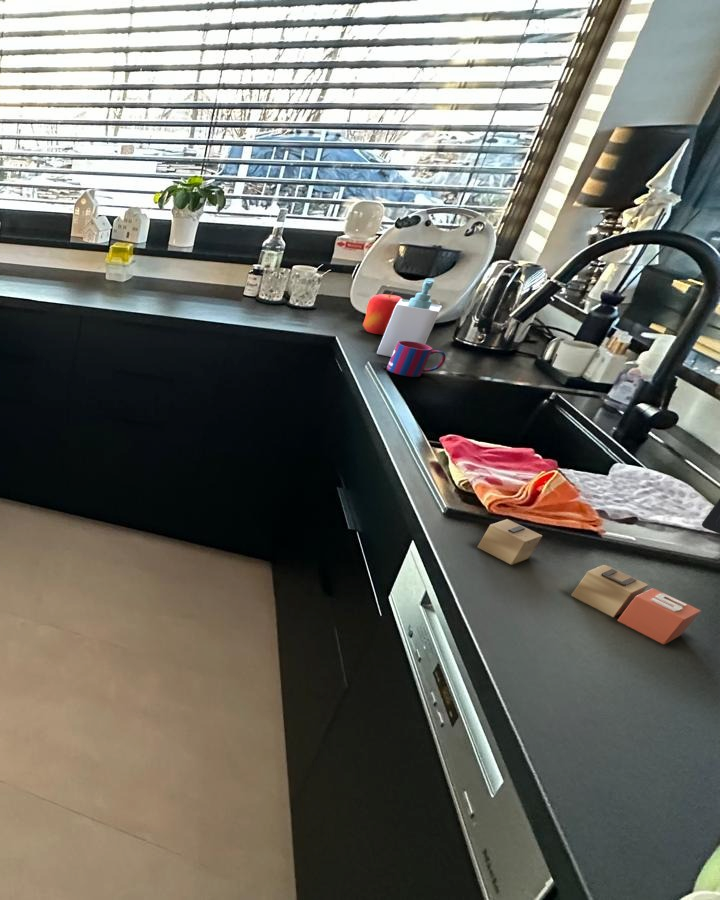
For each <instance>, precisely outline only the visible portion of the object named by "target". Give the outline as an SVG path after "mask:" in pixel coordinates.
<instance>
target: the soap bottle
mask: <svg viewBox="0 0 720 900" xmlns="http://www.w3.org/2000/svg"><path fill="white" fill-rule="evenodd" d="M435 281H436V279H434V278H431V277H427V278H425V279H424V281H423V284H422V286H421V289H422V290H421V292H417V293H416V294H415V295H414V297H411V298H410V299H405V298H403V299H401V300H400V301H399V302H398V303H397V304H396V306H395V309H394V311H393V314H392V316H391V319H390V321H389V324H388V326H387V329H386V331H385V333H384V335H382V338H381V341H380V344H379V346H378V348H377V351H376V354H377V355H380V356H383V357H384V356H385V357H389V358H391V357H392V354H393V352H394V349H395V347H396V345H397V342H398V341H412V342H417V343H422V344H425V345H426V344H427V341H428V339H429V336H430V334H431V332H432V330H433V328H434V325H435V323H436V321H437V318H438V316H439V313H440V312H441V310H442V305H441V304H435V303H433V301H432V300H431V297H432V295H431V294H430V293H428V292H429V291H430V290H431V289H432V287H433V285H434V282H435Z"/></svg>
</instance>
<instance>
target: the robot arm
mask: <svg viewBox="0 0 720 900" xmlns="http://www.w3.org/2000/svg"><path fill="white" fill-rule="evenodd" d="M701 527H702V528H704V529H706V530H708V531H711V532H714V533H716V534H719V535H720V498H718V500H717V502H716V503H715V504H714V506H713V507H712V509H711V510H710V512H709V513H708V514H707V516H706V517H705V518H704V519H703V521H702V522H701Z"/></svg>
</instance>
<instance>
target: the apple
mask: <svg viewBox="0 0 720 900" xmlns="http://www.w3.org/2000/svg"><path fill="white" fill-rule="evenodd" d="M393 293H394V291H391V293H390V294H384V293H380V294H375V295H373V296H371V298H370V299H369V300H368V303H367V306H366V312H365V317H364V320H363V323H362V326H363V328H364V329H365V331H366V332H367V333H370V334H375V335H379V336H384V333H385V331H386V329H387V326H388V324H389V321H390V319H391V316H392V314H393V311H394V309H395V306H396V304H397V303H398V302H399V301H400V300H401V299H404V298H403V297H401V296H399V295H394V294H393Z"/></svg>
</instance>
